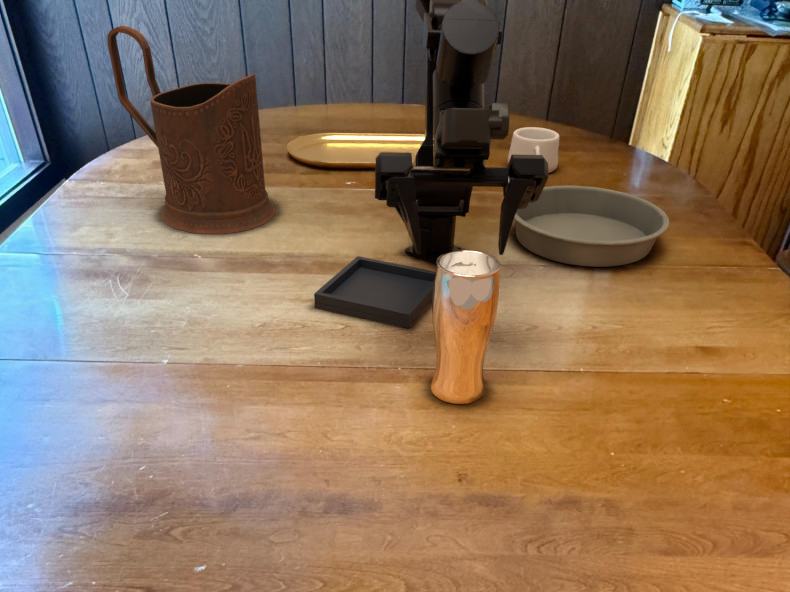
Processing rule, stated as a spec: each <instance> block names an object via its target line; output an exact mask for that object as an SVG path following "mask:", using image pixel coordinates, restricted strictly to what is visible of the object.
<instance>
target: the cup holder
mask: <svg viewBox="0 0 790 592" xmlns="http://www.w3.org/2000/svg"><path fill="white" fill-rule="evenodd" d="M119 34H125V35H127V36H130V37H131V38H132V39H134V40H135V41H136V43H137V44H138V45H139V47H140V49H141V51H142V56H143V57H142V58H143V65H144V70H145V76H146V77H145V78H146V82H147V84H148V86H149V90H150V92H151V95H152V97H151V98H150V99H149V102H150V109H151V114H152V120H153V125H154V128H153V127H152V126H151V124H149V122H148V121H147V120H146V119H145V117H144V116H143V115H142V114H141V113H140V111H139V110H138V109H137V108H136V107H135V106H134V105H133V103H132V102H131V101H130V100H129V98H128V95H127V92H126V87H125V80H124V75H123V71H122V65H121V60H120V54H119V48H118V43H117V36H118V35H119ZM106 39H107V41H106V43H107V49H108V53H109V58H110V63H111V64H110V65H111V68H112V74H113V78H114V79H113V80H114V84H115V88H116V93H117V98H118V101H119V102H120V104H121V106H122V108H123V109H125V111H126V112H127V113H128V114H129V115H130V117H132V119H133V120H134V121H135V123H136V124H137V125H138V126H139V127H140V128H141V130H142V131H143V132H144V133H145V135H147V137H148V138H149V139H150V141H152V143H153V144H154V145H155V146H156V147H157V149H158V156H159V160H160V166H161V172H162V178H163V184H164V190H165V196H164V203H165V204H164V206H163V208H162V210H161V214H160V216H161V219H162V221H163V222H164V223H165V224H166V225H167V226H169V227H171V228H174V229H176V230H178V231H179V230H180V231H183V232H186V233H187V232H188V233H194V234H202V235H203V234H204V235H221V234H222V235H223V234H232V233H239V232H243V231H249V230H252V229H255V228H258V227H260V226H261V227H262V226H263V225H265V224H266V223H268V222H269V221H271V220H272V219H273V218H274V216H276V208H275V207H274V205H273V203H272V202H271V200H270V199H269V194H268V191H267V190H266V182H265V171H264V158H263V147H262V135H261V124H260V114H259V103H258V90H257V80H256V79H257V78H256V74H252V73H251V74H248V75H247V76H245V77H242V78H240V79H237V80H236V81H234V82H233V83H223V82H200V83H193V84H188V85H183V86H180V87H176V88H172V89H168V90H165V91H161V89H160V86H159V84H158V82H157V77H156V72H155V67H154V60H153V56H152V49H151V46H150V44H149V42H148V40H147V38H146V37H145V36H144V34H142V32H140V31H139V30H137V29H135V28H133V27H130V26H126V25H120V26H116V27H114V28H112V29H111V30H109V32H108V34H107V35H106Z"/></svg>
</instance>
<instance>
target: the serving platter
mask: <svg viewBox="0 0 790 592" xmlns="http://www.w3.org/2000/svg"><path fill="white" fill-rule="evenodd" d="M424 139H425V133H376V132H375V133H373V132H371V133H370V132H369V133H368V132H365V133H364V132H359V133H358V132H320V133H311V134H307V135H303V136H299V137H297V138H293V140H291V141H289V142H288V143H287V146H286V150H287V152H288V154H289V155H290V156H291V157H292V158H293V159H294V160H295V161H298V162H300V163H302V164H304V165H308V166H313V167H317V168H323V169H324V168H325V169H361V170H362V169H365V170H366V169H370V170H372V169H374V170H375V158H376V157H377V156H378V155H379V153H380V152H403V153H412V166H414V161H415V157H416V154H417V152H418V150H419V148H420V147H421V145H422V143H423V141H424Z"/></svg>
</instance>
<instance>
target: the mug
mask: <svg viewBox="0 0 790 592" xmlns="http://www.w3.org/2000/svg"><path fill="white" fill-rule="evenodd" d="M509 146H510V147H509V151H508V156H507V165H508V164H509V161H510V158H511V155H512V154H516V155H542V156H543V157H544V158H545V160H546V161H547V163H548V174H550V173H552V172H554V171H555V170H556V169H557V168H558V165H559V156H560V155H559V153H560V152H559V151H560V150H559V149H560V134H559V133H558V132H556V131H555V130H553V129H550V128H545V127H538V126H537V127H536V126H528V127H520V128H517V129H515V130H514V131H513V133H512V137H511V141H510V145H509Z"/></svg>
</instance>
